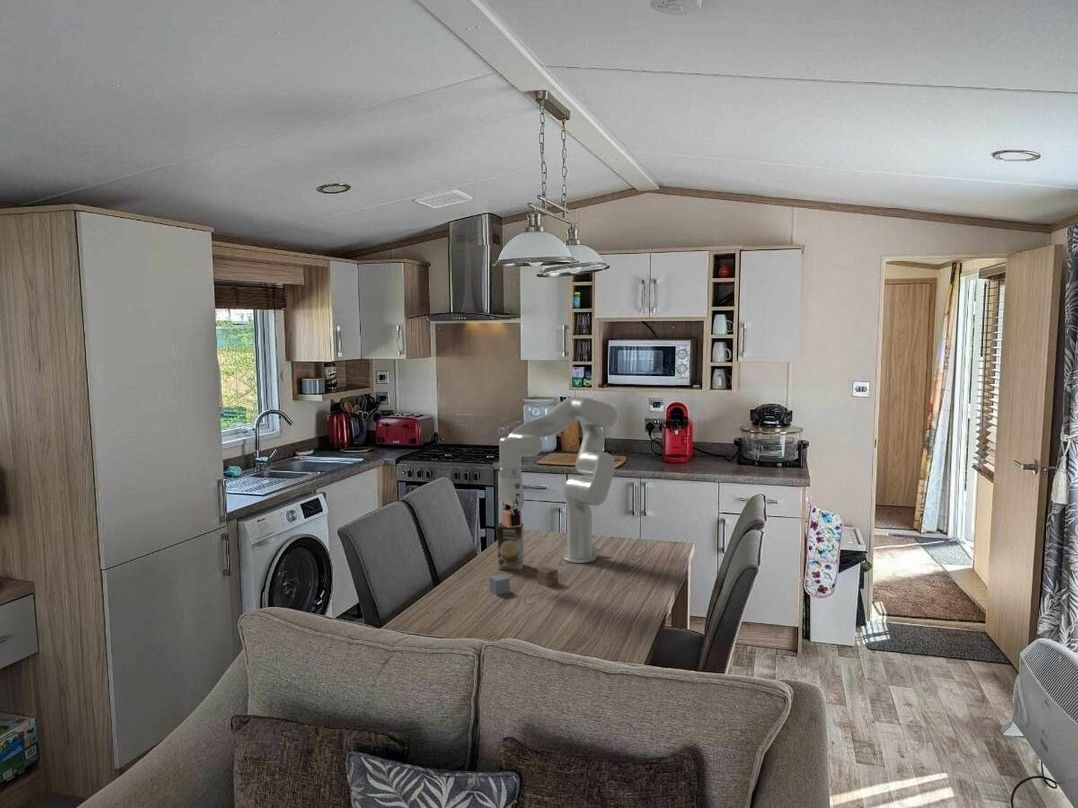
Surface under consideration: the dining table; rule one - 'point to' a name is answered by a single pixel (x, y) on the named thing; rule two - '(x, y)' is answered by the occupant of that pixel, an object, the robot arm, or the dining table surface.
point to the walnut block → (547, 576)
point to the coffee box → (510, 547)
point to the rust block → (508, 518)
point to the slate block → (499, 584)
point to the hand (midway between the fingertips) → (511, 523)
